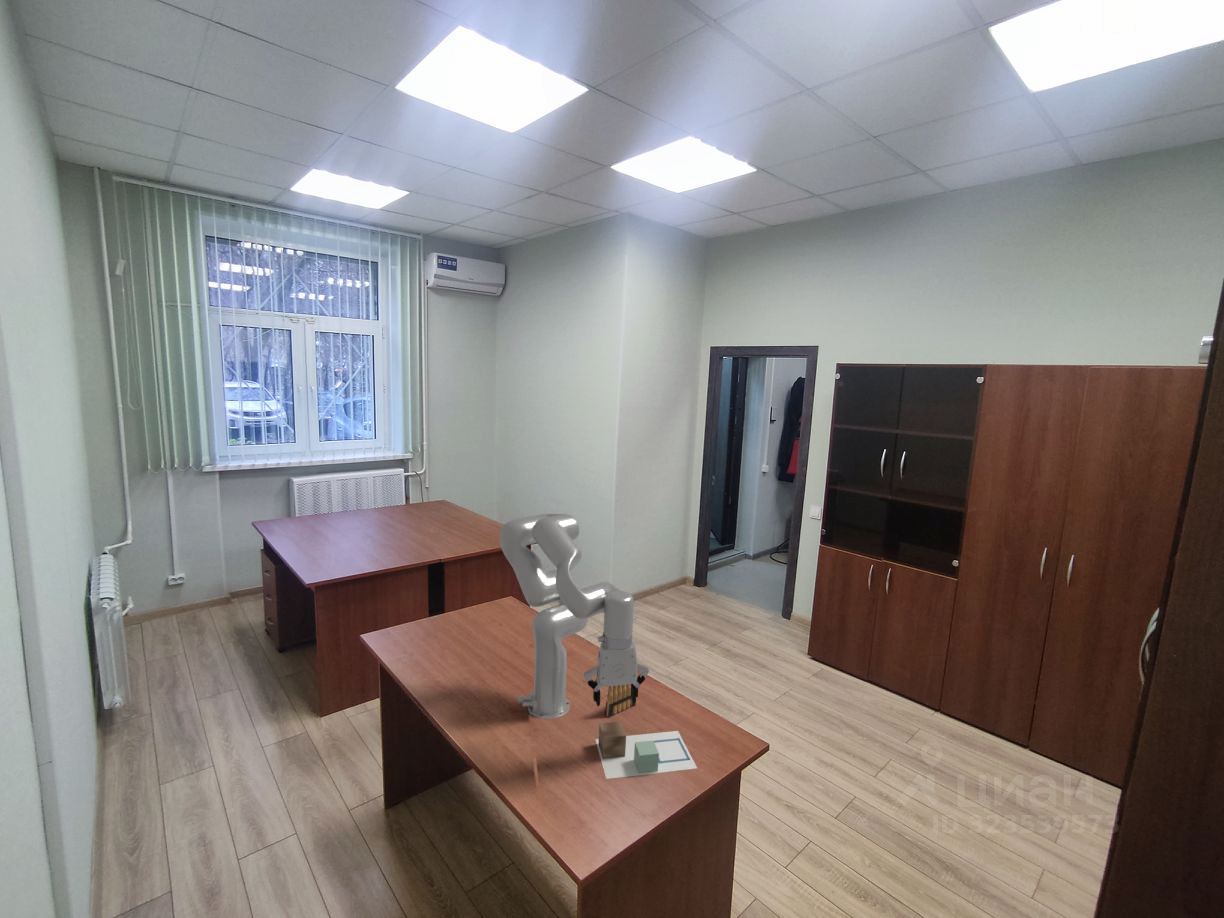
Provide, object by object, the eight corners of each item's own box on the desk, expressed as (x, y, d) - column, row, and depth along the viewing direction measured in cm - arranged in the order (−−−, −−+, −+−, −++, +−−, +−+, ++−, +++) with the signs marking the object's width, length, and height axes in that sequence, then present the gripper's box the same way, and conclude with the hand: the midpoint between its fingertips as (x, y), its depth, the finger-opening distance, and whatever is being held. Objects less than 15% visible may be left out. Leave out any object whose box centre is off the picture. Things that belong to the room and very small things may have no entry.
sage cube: (638, 773, 133) (639, 755, 133) (633, 759, 138) (634, 742, 137) (657, 771, 134) (658, 753, 134) (652, 757, 139) (653, 740, 138)
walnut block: (602, 759, 138) (603, 738, 137) (598, 743, 144) (599, 723, 143) (625, 756, 139) (626, 735, 138) (619, 741, 145) (620, 721, 144)
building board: (606, 782, 131) (606, 778, 131) (595, 742, 146) (595, 738, 145) (697, 771, 136) (697, 767, 136) (677, 734, 151) (677, 730, 151)
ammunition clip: (608, 720, 155) (610, 682, 154) (604, 717, 157) (606, 680, 155) (635, 708, 162) (637, 671, 160) (631, 705, 163) (633, 669, 162)
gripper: (587, 649, 131) (585, 713, 133) (653, 644, 135) (651, 706, 137) (582, 635, 139) (580, 696, 141) (645, 631, 142) (643, 690, 144)
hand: (615, 701), depth 139 cm, fingers open, 9 cm apart
